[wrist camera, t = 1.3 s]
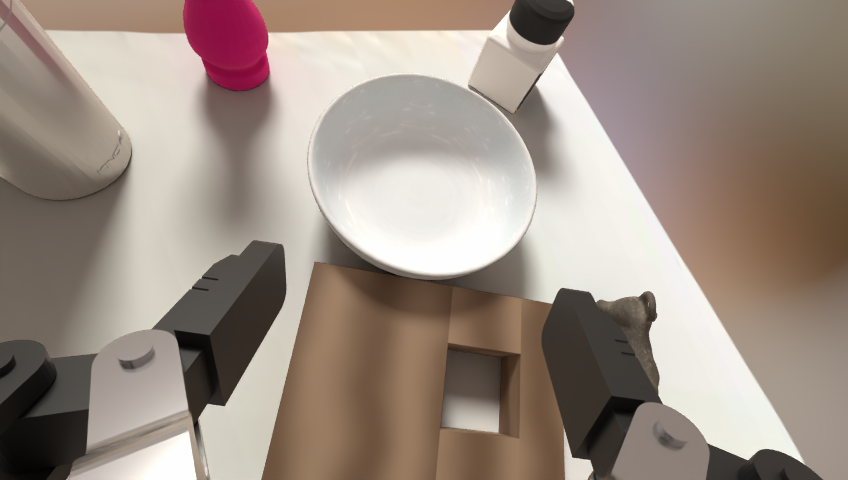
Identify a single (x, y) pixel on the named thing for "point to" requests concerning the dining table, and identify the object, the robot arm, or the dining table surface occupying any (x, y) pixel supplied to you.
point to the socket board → (410, 384)
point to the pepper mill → (228, 41)
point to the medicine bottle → (520, 50)
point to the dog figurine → (636, 327)
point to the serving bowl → (421, 176)
